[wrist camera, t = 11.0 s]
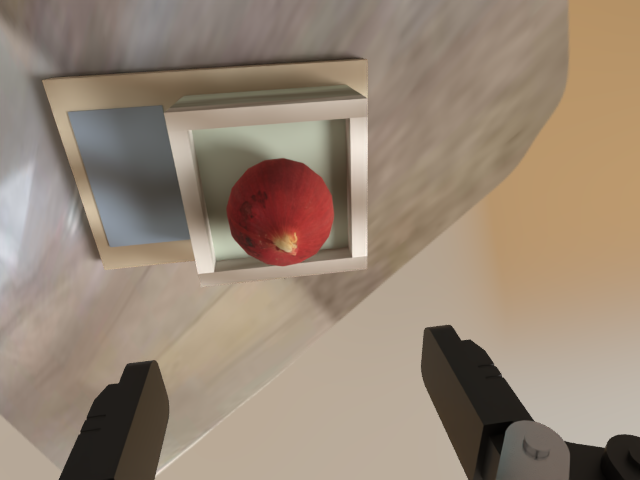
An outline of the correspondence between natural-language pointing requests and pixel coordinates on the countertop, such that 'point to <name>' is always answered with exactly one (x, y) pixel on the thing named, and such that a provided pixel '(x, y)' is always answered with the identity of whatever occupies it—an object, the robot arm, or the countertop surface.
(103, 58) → the countertop surface
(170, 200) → the tray with open box
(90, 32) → the countertop surface
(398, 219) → the countertop surface
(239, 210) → the onion
